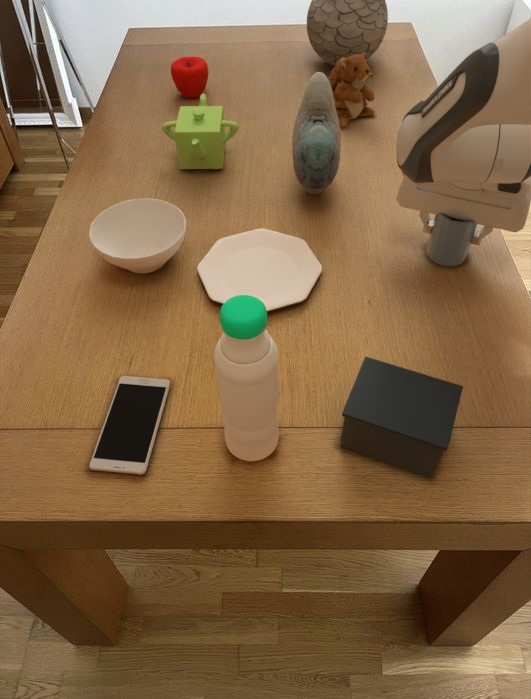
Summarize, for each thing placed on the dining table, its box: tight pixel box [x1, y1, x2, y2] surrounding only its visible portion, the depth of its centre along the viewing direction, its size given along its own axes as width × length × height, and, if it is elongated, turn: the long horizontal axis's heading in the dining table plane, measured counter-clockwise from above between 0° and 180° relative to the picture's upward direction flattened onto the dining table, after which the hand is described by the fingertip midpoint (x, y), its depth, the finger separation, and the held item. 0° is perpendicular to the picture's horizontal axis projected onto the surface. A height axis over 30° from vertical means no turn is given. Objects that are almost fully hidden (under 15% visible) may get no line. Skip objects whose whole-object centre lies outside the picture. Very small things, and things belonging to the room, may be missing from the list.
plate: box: [196, 228, 323, 313], centre depth 95 cm, size 20×20×2 cm
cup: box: [426, 213, 478, 267], centre depth 94 cm, size 7×7×9 cm
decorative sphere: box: [306, 0, 389, 67], centre depth 139 cm, size 20×20×20 cm
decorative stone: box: [291, 71, 342, 195], centre depth 104 cm, size 21×9×20 cm, turn 177°
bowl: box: [88, 198, 187, 274], centre depth 96 cm, size 16×16×7 cm
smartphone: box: [88, 375, 171, 476], centre depth 76 cm, size 8×1×15 cm
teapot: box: [161, 93, 240, 170], centre depth 114 cm, size 15×13×11 cm
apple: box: [170, 56, 209, 99], centre depth 134 cm, size 9×9×8 cm
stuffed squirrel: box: [328, 52, 376, 129], centre depth 125 cm, size 10×14×13 cm
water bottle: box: [213, 295, 280, 462], centre depth 65 cm, size 7×7×25 cm
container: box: [339, 356, 464, 479], centre depth 72 cm, size 13×10×8 cm
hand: (451, 236), depth 95 cm, fingers closed on cup, 7 cm apart
